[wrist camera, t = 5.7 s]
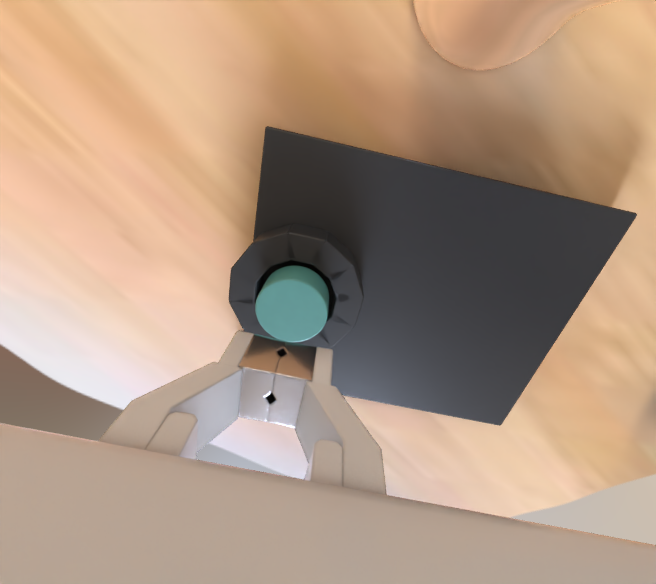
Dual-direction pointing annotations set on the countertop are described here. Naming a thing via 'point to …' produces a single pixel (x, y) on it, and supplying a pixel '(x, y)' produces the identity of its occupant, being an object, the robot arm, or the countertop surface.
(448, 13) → the beer glass
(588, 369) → the countertop surface
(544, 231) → the scale
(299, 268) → the button
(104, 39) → the countertop surface
